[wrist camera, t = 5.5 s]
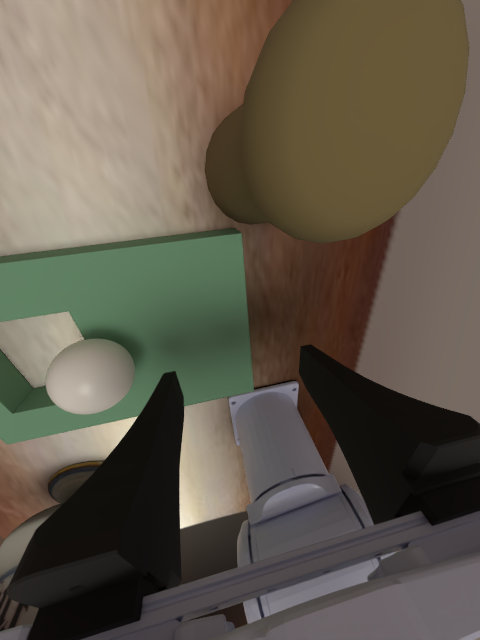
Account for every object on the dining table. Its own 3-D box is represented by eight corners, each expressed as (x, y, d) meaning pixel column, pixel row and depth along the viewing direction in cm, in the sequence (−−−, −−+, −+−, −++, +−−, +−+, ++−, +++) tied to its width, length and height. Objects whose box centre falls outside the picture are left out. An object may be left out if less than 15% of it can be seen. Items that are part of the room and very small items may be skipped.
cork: (268, 79, 12) (593, -419, 2) (312, 187, 15) (525, 170, 5) (183, 155, 12) (157, 32, 3) (240, 242, 16) (314, 311, 6)
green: (248, 372, 22) (253, 391, 20) (27, 417, 20) (7, 444, 18) (234, 227, 15) (241, 233, 13) (-117, 270, 12) (-180, 286, 10)
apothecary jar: (167, 473, 29) (139, 787, 13) (106, 512, 31) (22, 823, 16) (82, 442, 23) (-145, 948, 7) (13, 493, 25) (-277, 973, 9)
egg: (134, 423, 13) (59, 432, 13) (152, 365, 16) (93, 372, 16) (96, 379, 10) (0, 390, 10) (127, 319, 14) (56, 328, 13)
